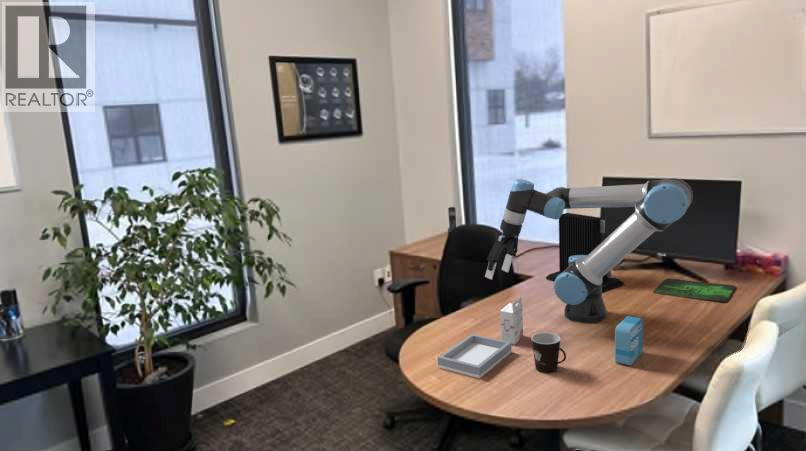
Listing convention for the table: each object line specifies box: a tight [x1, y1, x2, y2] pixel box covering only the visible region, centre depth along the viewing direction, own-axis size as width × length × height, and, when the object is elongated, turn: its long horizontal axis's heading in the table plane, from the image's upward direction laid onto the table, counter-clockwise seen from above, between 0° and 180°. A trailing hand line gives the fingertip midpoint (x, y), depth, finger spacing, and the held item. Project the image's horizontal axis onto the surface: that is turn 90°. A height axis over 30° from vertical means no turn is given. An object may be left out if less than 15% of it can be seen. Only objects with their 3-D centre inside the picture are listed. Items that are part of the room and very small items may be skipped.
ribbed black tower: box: [545, 212, 625, 294], centre depth 251 cm, size 30×19×30 cm, turn 34°
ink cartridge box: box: [499, 296, 524, 346], centre depth 197 cm, size 9×5×15 cm, turn 148°
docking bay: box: [437, 333, 513, 379], centre depth 185 cm, size 15×21×4 cm
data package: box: [614, 315, 644, 366], centre depth 177 cm, size 12×4×12 cm, turn 140°
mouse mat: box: [653, 278, 737, 304], centre depth 233 cm, size 27×22×1 cm
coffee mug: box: [530, 332, 567, 374], centre depth 173 cm, size 12×9×10 cm
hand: (496, 274), depth 214 cm, fingers open, 13 cm apart
